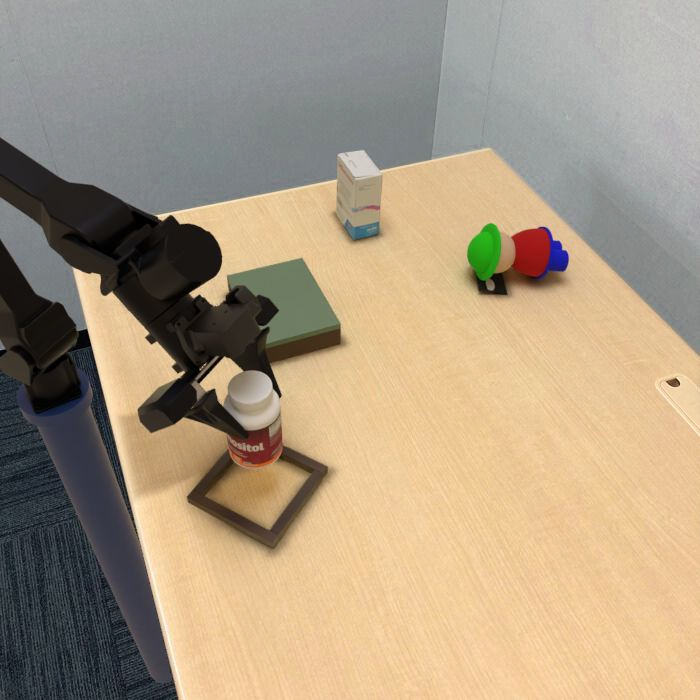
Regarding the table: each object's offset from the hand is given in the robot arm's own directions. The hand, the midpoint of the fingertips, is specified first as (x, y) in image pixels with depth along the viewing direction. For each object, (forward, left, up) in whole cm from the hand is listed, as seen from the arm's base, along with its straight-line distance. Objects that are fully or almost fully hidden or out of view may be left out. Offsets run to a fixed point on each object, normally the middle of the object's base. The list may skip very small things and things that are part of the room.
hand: (262, 418), depth 79 cm
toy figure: (+51, +16, -12) cm, 55 cm away
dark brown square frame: (-1, 0, -12) cm, 12 cm away
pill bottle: (-1, +1, -7) cm, 7 cm away
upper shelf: (+15, +25, -12) cm, 32 cm away
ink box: (+37, +40, -12) cm, 56 cm away
